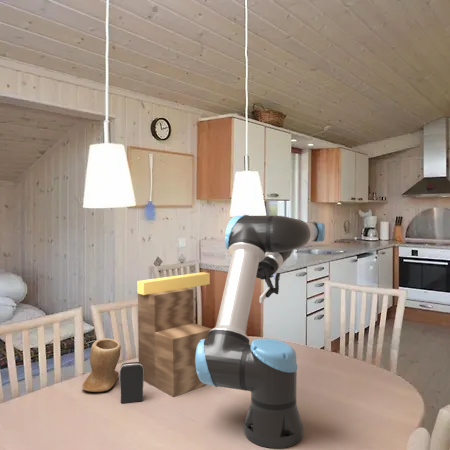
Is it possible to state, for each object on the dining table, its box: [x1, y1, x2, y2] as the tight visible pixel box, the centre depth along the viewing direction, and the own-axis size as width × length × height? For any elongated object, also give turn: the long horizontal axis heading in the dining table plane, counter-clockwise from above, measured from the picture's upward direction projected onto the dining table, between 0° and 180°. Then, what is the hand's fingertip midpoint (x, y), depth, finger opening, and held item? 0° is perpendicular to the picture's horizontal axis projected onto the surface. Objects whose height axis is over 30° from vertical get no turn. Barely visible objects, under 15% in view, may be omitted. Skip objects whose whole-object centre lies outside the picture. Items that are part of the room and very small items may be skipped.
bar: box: [136, 271, 211, 295], centre depth 152 cm, size 28×4×4 cm, turn 133°
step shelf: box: [137, 287, 212, 398], centre depth 146 cm, size 16×20×30 cm
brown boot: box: [81, 337, 122, 393], centre depth 143 cm, size 15×12×15 cm
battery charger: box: [119, 361, 144, 404], centre depth 132 cm, size 7×4×11 cm, turn 103°
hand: (243, 293), depth 159 cm, fingers open, 13 cm apart
